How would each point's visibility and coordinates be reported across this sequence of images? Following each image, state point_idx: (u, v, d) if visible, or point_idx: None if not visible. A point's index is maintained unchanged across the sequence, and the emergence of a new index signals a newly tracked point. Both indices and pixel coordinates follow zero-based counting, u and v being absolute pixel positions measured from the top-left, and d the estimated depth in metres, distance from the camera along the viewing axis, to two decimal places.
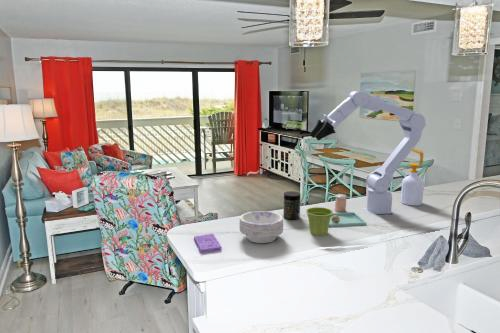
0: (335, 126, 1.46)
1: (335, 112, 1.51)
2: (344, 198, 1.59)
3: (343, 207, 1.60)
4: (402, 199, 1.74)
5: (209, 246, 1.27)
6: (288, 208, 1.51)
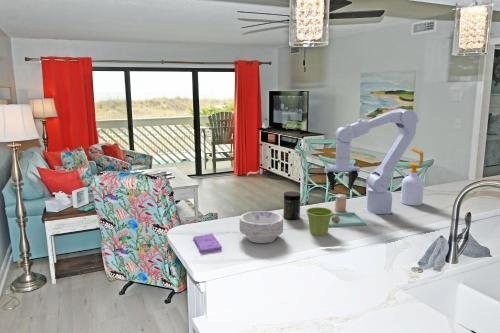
0: (325, 171, 1.58)
1: None
2: (344, 198, 1.59)
3: (343, 207, 1.60)
4: (402, 199, 1.74)
5: (209, 246, 1.27)
6: (288, 208, 1.51)
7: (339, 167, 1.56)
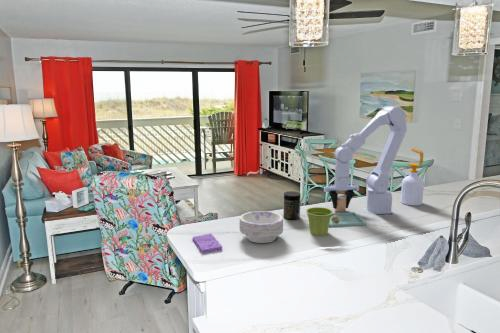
0: (324, 190, 1.59)
1: None
2: (344, 198, 1.59)
3: (343, 207, 1.60)
4: (402, 199, 1.74)
5: (210, 246, 1.27)
6: (288, 208, 1.51)
7: (338, 186, 1.58)
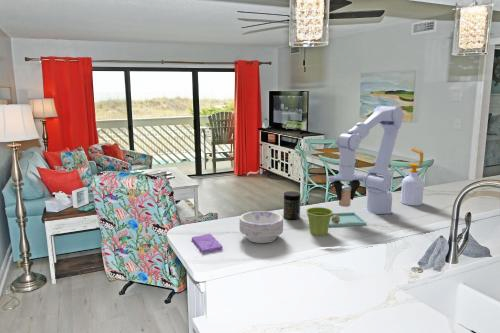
0: (328, 180, 1.48)
1: None
2: (348, 190, 1.48)
3: (347, 199, 1.49)
4: (402, 199, 1.74)
5: (210, 246, 1.27)
6: (288, 208, 1.51)
7: (343, 176, 1.47)
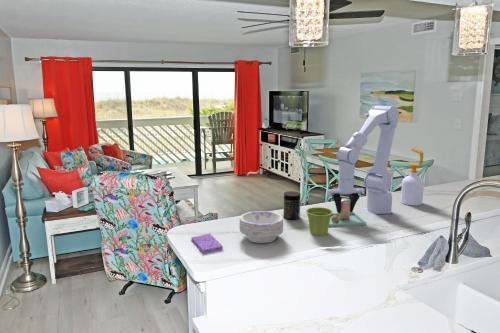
0: (327, 193, 1.49)
1: None
2: (348, 203, 1.50)
3: (347, 212, 1.50)
4: (402, 199, 1.74)
5: (210, 246, 1.27)
6: (288, 208, 1.51)
7: (342, 189, 1.48)
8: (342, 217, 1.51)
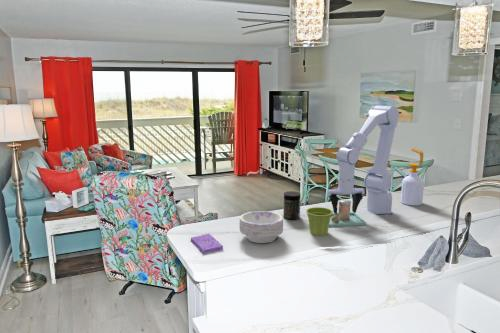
0: (327, 193, 1.49)
1: None
2: (348, 204, 1.50)
3: (347, 213, 1.50)
4: (402, 199, 1.74)
5: (210, 246, 1.27)
6: (288, 208, 1.51)
7: (342, 190, 1.48)
8: (342, 218, 1.51)
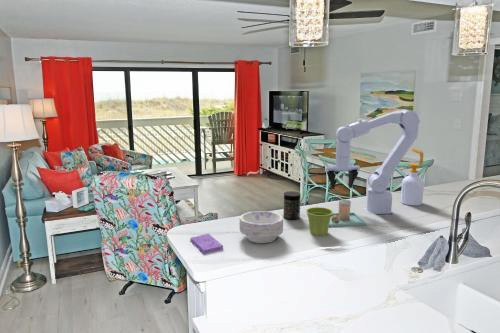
0: (325, 170, 1.60)
1: None
2: (348, 204, 1.50)
3: (347, 213, 1.50)
4: (402, 199, 1.74)
5: (210, 246, 1.27)
6: (288, 208, 1.51)
7: (339, 166, 1.58)
8: (342, 218, 1.51)
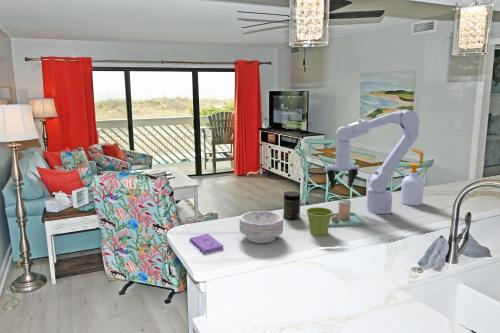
0: (325, 169, 1.61)
1: None
2: (348, 204, 1.50)
3: (347, 213, 1.51)
4: (402, 199, 1.74)
5: (211, 246, 1.27)
6: (288, 208, 1.51)
7: (339, 166, 1.59)
8: (342, 218, 1.51)
